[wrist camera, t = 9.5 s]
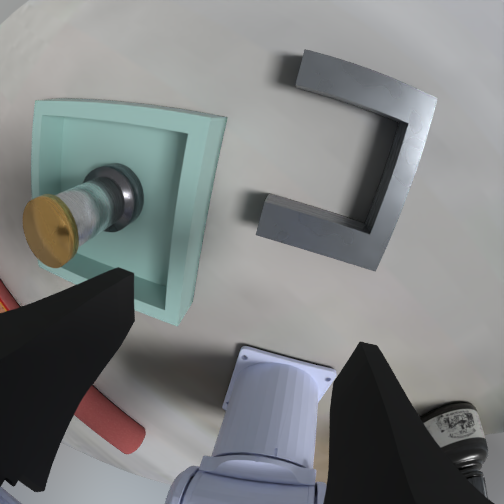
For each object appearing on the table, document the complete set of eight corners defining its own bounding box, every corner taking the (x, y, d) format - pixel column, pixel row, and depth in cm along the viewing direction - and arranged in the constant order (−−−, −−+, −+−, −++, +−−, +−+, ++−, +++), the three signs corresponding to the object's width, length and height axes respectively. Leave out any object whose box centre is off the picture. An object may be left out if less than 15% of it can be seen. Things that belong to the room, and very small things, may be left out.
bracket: (370, 257, 18) (375, 271, 16) (260, 224, 18) (255, 235, 17) (425, 99, 13) (437, 98, 12) (305, 56, 14) (304, 49, 12)
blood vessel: (-46, 215, 26) (-70, 228, 22) (-43, 193, 24) (-69, 206, 20) (133, 429, 36) (119, 455, 31) (151, 426, 34) (137, 454, 29)
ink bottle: (490, 395, 21) (518, 484, 11) (456, 438, 25) (469, 516, 15) (418, 403, 23) (434, 511, 12) (389, 445, 27) (393, 534, 16)
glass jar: (156, 202, 18) (87, 249, 12) (117, 235, 20) (52, 285, 14) (119, 149, 17) (39, 174, 11) (84, 188, 19) (11, 223, 13)
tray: (192, 301, 22) (177, 326, 19) (60, 250, 23) (38, 266, 20) (227, 117, 16) (211, 117, 13) (63, 98, 17) (35, 100, 14)
